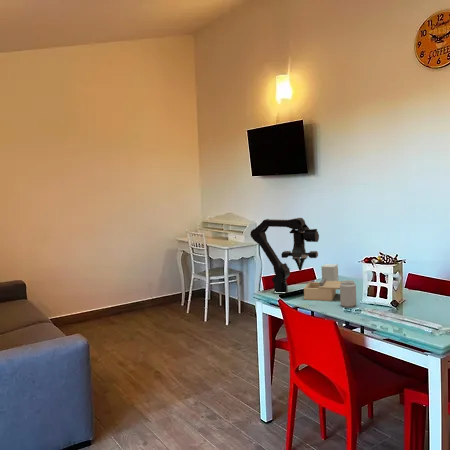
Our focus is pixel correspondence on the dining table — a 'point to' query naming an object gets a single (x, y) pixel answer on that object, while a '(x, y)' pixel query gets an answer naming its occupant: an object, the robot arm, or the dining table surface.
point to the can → (348, 293)
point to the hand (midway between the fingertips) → (300, 270)
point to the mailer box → (318, 292)
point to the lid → (329, 284)
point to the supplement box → (330, 272)
